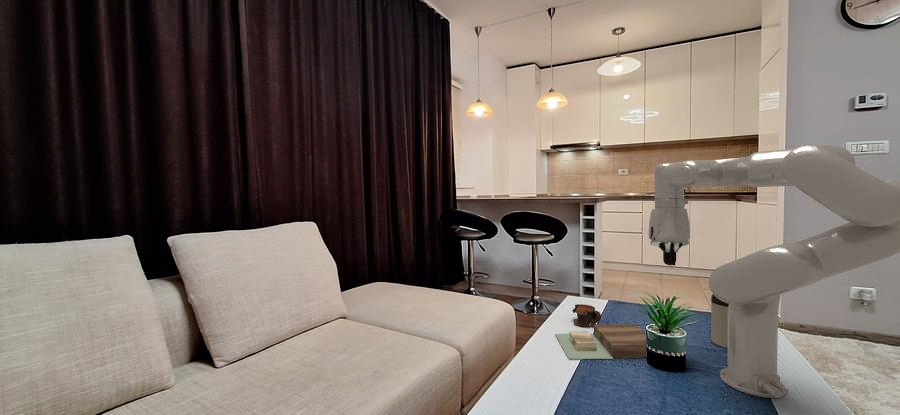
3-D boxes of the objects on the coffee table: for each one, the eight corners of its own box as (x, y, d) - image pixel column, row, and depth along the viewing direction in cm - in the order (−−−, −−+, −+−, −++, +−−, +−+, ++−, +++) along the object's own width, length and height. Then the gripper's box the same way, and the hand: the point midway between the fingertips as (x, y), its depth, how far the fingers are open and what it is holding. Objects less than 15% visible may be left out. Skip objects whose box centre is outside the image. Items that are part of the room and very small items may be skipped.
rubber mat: (613, 359, 103) (613, 358, 103) (568, 359, 104) (568, 358, 104) (592, 334, 121) (592, 333, 121) (554, 334, 122) (554, 333, 122)
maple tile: (576, 343, 109) (577, 350, 109) (596, 343, 108) (596, 350, 108) (569, 331, 118) (569, 338, 118) (587, 331, 117) (587, 338, 117)
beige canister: (735, 352, 105) (735, 293, 104) (706, 342, 112) (706, 287, 111) (748, 345, 109) (748, 288, 108) (718, 336, 116) (718, 283, 115)
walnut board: (660, 357, 103) (660, 344, 103) (612, 357, 104) (611, 344, 104) (635, 335, 119) (635, 323, 119) (593, 335, 120) (593, 324, 120)
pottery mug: (565, 324, 132) (567, 303, 135) (581, 330, 136) (582, 309, 140) (593, 325, 122) (594, 302, 126) (610, 332, 127) (610, 309, 130)
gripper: (687, 203, 108) (687, 261, 109) (637, 204, 109) (638, 262, 110) (703, 203, 101) (703, 266, 101) (649, 205, 102) (650, 267, 102)
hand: (669, 264), depth 106 cm, fingers closed
